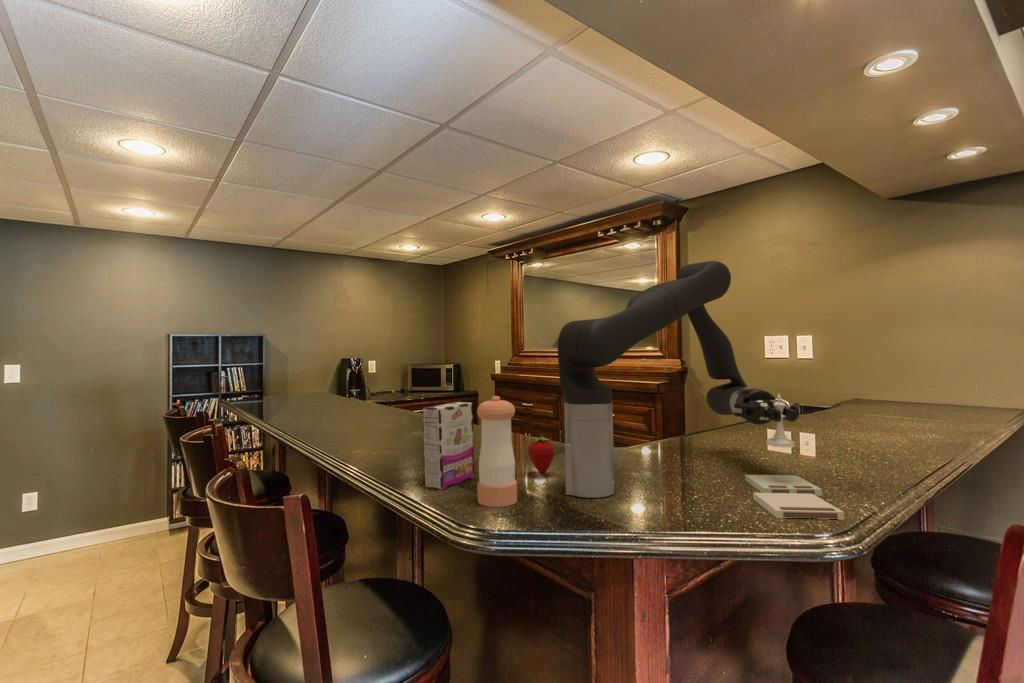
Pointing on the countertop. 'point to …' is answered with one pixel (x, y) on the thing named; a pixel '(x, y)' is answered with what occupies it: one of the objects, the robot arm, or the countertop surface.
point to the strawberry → (541, 453)
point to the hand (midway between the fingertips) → (786, 416)
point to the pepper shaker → (496, 455)
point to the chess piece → (780, 429)
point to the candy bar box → (448, 444)
